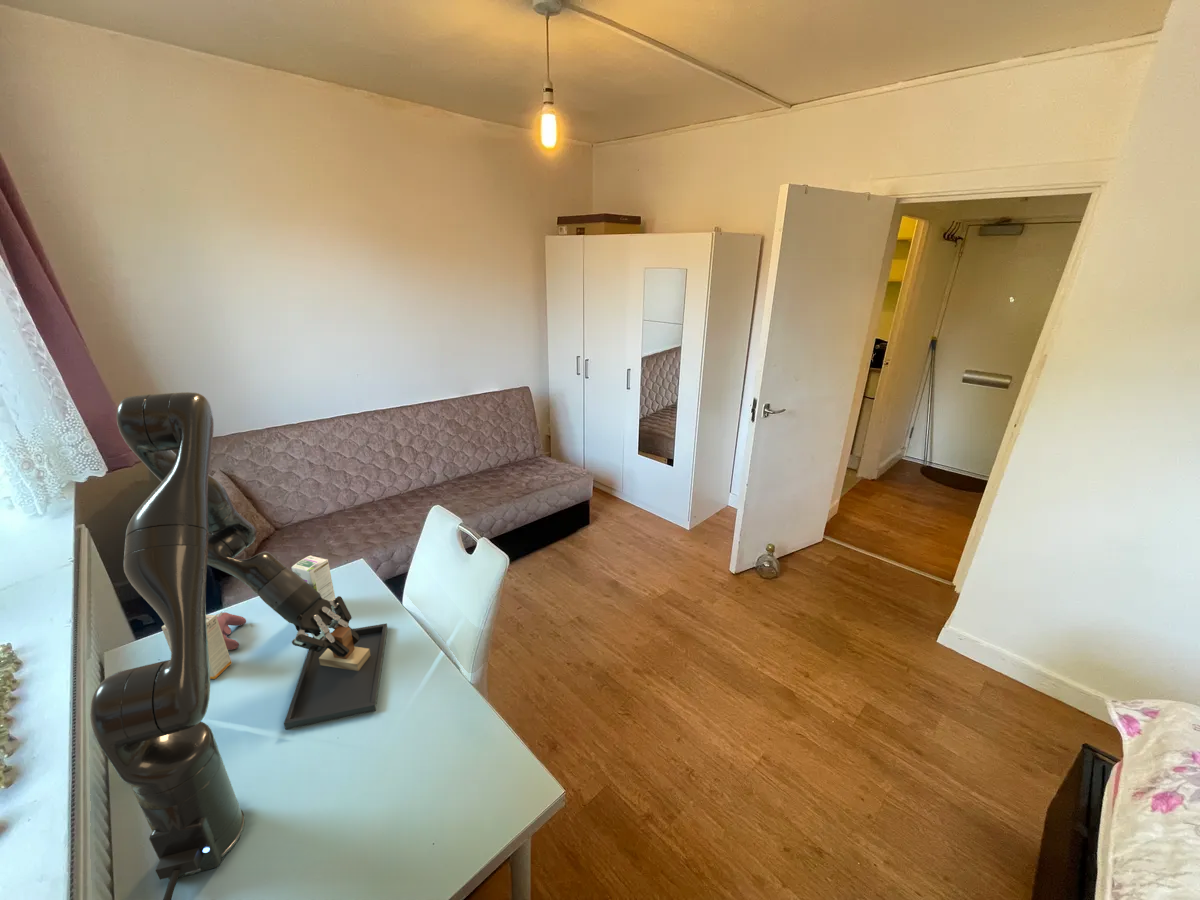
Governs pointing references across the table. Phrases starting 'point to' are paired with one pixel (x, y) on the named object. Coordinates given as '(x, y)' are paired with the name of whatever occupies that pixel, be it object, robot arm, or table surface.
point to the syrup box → (316, 575)
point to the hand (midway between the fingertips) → (351, 647)
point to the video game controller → (226, 620)
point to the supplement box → (212, 647)
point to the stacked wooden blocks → (352, 659)
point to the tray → (338, 684)
